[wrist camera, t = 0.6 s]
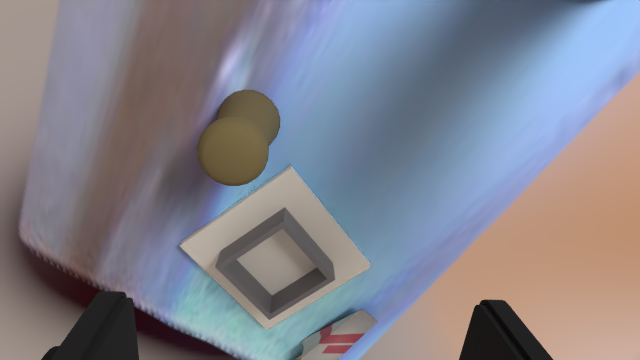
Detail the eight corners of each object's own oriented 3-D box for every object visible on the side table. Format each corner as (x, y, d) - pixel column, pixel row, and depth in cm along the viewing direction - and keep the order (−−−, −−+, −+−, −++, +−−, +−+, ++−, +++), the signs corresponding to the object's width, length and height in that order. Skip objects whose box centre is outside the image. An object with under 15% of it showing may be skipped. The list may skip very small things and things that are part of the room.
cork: (223, 153, 38) (196, 201, 28) (212, 92, 36) (177, 121, 26) (283, 147, 38) (277, 194, 28) (276, 86, 36) (266, 113, 26)
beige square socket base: (290, 164, 39) (289, 179, 35) (369, 262, 44) (375, 284, 41) (182, 241, 42) (170, 262, 38) (267, 324, 47) (265, 349, 43)
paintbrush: (382, 333, 45) (265, 412, 50) (379, 315, 47) (268, 392, 53) (361, 315, 43) (243, 398, 49) (358, 298, 46) (247, 379, 51)
